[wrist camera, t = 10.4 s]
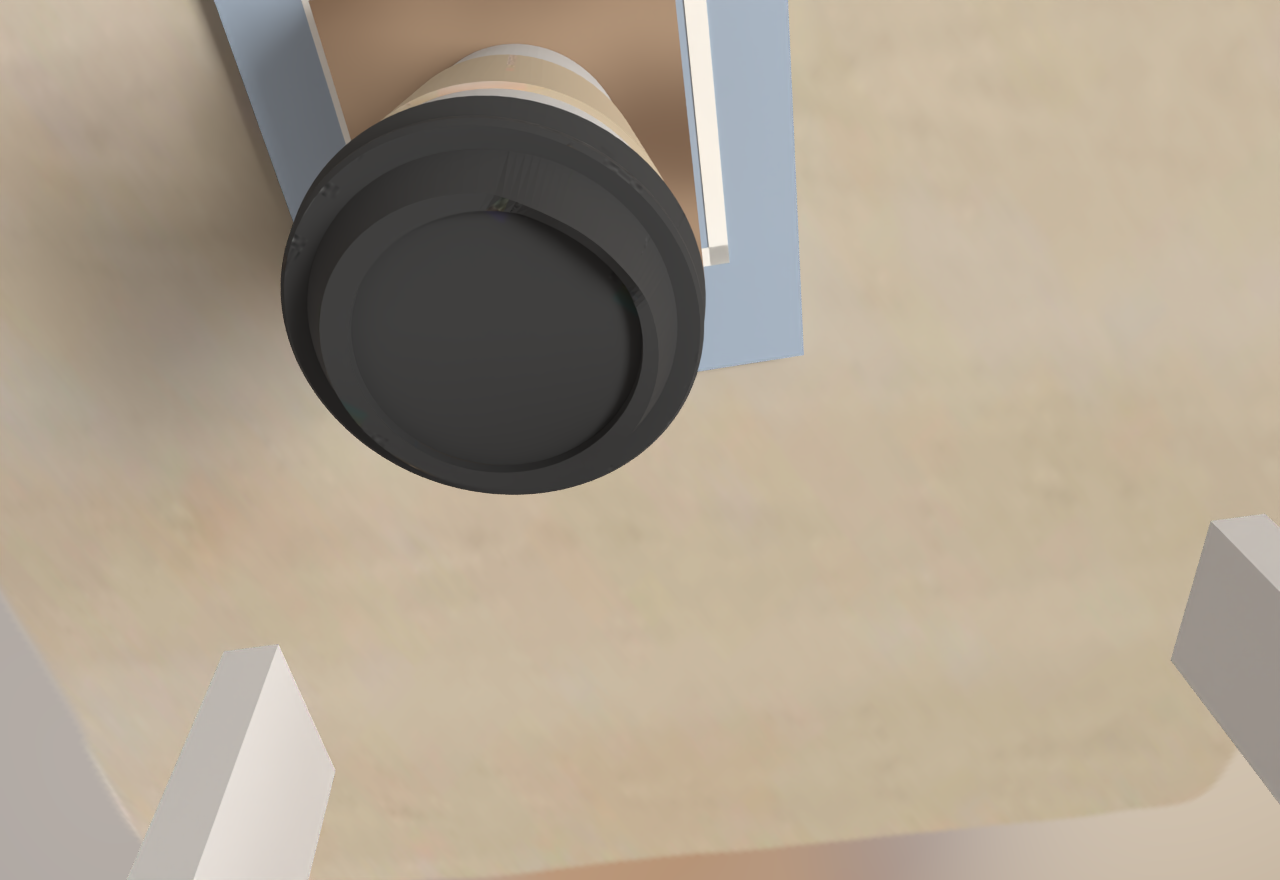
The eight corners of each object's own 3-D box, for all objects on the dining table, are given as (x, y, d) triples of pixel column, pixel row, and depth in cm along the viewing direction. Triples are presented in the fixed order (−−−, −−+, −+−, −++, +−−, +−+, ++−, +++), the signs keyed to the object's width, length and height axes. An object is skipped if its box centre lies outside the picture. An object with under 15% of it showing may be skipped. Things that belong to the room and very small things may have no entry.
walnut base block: (341, -20, 32) (308, 0, 28) (654, -70, 32) (669, -58, 27) (425, 274, 38) (408, 327, 34) (688, 232, 38) (704, 280, 33)
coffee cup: (555, 325, 34) (547, 605, 21) (333, 179, 31) (168, 410, 18) (714, 126, 30) (816, 321, 18) (482, -64, 27) (408, 10, 14)
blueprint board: (145, -225, 29) (132, -227, 28) (767, -329, 29) (773, -334, 28) (368, 412, 42) (365, 424, 41) (798, 344, 42) (803, 355, 41)
